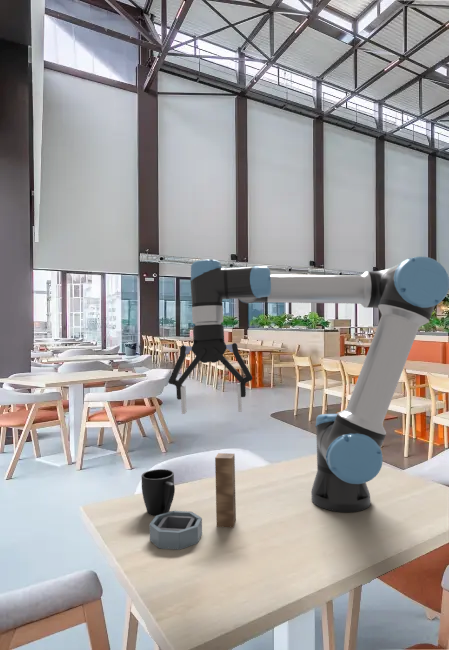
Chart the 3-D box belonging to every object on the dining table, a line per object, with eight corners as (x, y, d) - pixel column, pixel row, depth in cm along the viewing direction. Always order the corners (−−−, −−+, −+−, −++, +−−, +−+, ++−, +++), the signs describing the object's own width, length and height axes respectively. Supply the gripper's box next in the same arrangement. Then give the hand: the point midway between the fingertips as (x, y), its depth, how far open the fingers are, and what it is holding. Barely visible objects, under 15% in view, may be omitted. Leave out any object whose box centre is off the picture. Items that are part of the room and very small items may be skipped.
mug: (156, 526, 100) (155, 486, 100) (137, 510, 110) (136, 473, 110) (187, 518, 104) (186, 478, 105) (165, 502, 114) (165, 467, 115)
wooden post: (235, 520, 102) (234, 453, 103) (233, 527, 98) (232, 458, 99) (219, 519, 103) (218, 453, 103) (216, 526, 99) (215, 457, 100)
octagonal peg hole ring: (205, 527, 99) (204, 512, 99) (194, 550, 88) (193, 533, 88) (160, 525, 101) (160, 510, 101) (144, 547, 90) (144, 530, 90)
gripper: (259, 322, 106) (263, 407, 106) (160, 327, 108) (164, 411, 107) (259, 321, 99) (264, 412, 98) (154, 326, 100) (157, 416, 100)
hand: (212, 412), depth 103 cm, fingers open, 13 cm apart
